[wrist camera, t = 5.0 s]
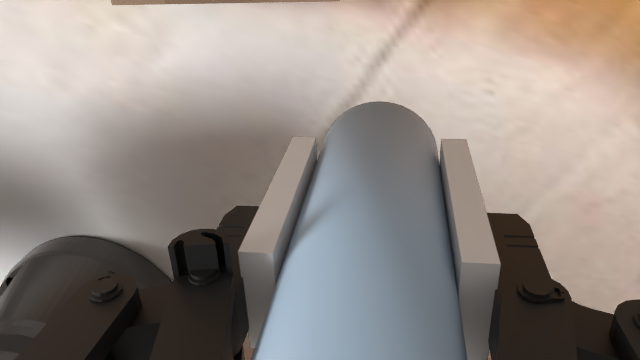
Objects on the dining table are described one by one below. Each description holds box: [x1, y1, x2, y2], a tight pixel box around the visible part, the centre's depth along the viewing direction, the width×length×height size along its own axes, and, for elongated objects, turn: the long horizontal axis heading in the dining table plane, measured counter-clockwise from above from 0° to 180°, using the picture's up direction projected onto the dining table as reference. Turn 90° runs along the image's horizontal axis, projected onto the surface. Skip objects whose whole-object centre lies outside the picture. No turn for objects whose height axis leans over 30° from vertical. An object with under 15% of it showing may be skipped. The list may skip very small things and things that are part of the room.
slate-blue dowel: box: [251, 102, 467, 360], centre depth 14 cm, size 4×4×12 cm
